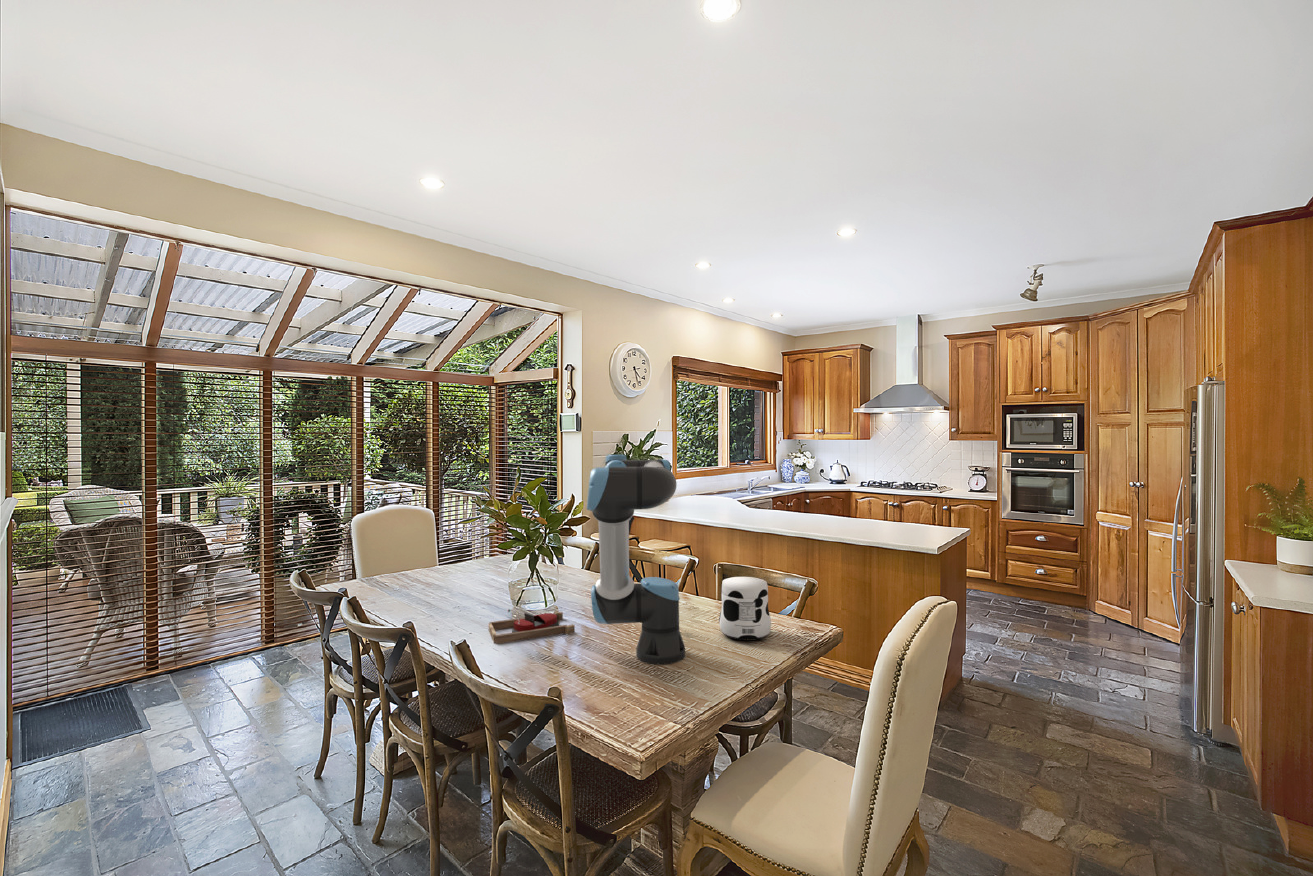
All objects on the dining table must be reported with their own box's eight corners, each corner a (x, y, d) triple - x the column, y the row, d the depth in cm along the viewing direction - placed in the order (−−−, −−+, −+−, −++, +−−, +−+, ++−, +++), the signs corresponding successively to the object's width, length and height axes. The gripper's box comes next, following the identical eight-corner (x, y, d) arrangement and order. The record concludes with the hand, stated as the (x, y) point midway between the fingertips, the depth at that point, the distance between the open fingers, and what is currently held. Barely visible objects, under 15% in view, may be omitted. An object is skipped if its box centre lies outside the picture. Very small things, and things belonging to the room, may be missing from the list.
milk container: (745, 623, 206) (744, 573, 206) (782, 636, 192) (781, 583, 192) (708, 633, 196) (708, 581, 196) (745, 648, 182) (744, 592, 182)
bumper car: (564, 627, 206) (564, 599, 206) (517, 643, 191) (517, 612, 190) (547, 621, 212) (546, 594, 212) (500, 636, 197) (500, 607, 197)
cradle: (575, 633, 198) (575, 626, 198) (495, 646, 187) (495, 638, 187) (561, 617, 215) (561, 611, 215) (487, 628, 205) (487, 621, 205)
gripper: (629, 496, 211) (629, 561, 210) (595, 498, 205) (596, 564, 204) (637, 497, 204) (638, 564, 204) (603, 499, 198) (604, 568, 198)
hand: (617, 564), depth 204 cm, fingers closed
